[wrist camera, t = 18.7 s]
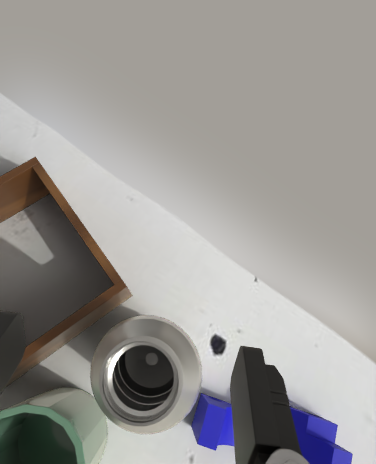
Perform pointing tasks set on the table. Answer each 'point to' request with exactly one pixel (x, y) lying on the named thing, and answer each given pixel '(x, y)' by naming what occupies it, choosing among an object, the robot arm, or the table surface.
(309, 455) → the blue cradle bracket
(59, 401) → the cup
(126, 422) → the silver metal bottle
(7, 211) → the open box
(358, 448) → the table surface
